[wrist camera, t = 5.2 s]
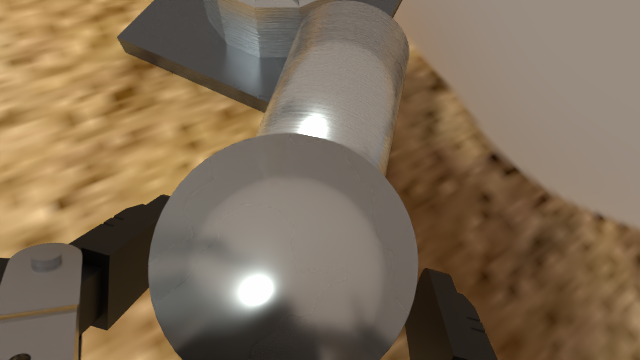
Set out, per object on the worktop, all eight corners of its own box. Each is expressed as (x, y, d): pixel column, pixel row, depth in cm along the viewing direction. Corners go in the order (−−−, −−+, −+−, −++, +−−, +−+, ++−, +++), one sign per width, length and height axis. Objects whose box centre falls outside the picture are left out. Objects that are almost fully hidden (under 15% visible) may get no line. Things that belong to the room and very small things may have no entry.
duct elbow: (327, 376, 15) (395, 442, 5) (218, 344, 16) (93, 352, 6) (368, 186, 19) (451, 24, 9) (282, 163, 20) (274, -20, 10)
